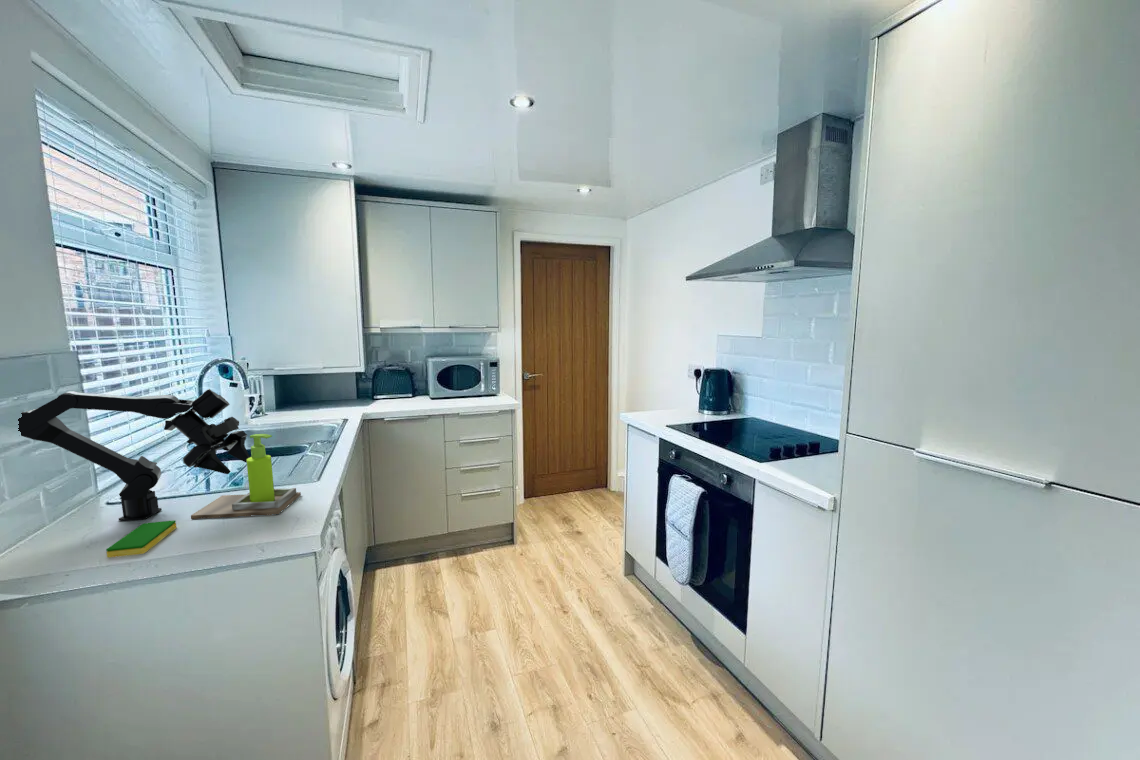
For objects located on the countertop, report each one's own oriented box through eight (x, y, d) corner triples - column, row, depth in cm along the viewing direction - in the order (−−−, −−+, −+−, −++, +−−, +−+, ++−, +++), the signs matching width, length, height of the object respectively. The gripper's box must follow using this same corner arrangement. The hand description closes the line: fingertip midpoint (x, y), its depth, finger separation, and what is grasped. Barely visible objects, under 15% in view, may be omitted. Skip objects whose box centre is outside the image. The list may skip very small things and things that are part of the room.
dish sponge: (106, 559, 105) (104, 549, 104) (144, 531, 118) (143, 522, 117) (144, 555, 106) (142, 545, 106) (177, 528, 120) (176, 519, 119)
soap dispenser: (268, 505, 130) (262, 437, 128) (245, 505, 131) (238, 436, 128) (282, 497, 136) (277, 432, 133) (260, 497, 137) (254, 431, 134)
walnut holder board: (191, 518, 124) (189, 509, 124) (222, 498, 138) (221, 490, 138) (278, 514, 127) (277, 505, 127) (300, 495, 141) (300, 487, 140)
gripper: (189, 417, 120) (236, 458, 122) (238, 404, 139) (278, 439, 141) (162, 446, 121) (209, 486, 123) (213, 429, 139) (254, 464, 141)
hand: (240, 467), depth 132 cm, fingers open, 9 cm apart
